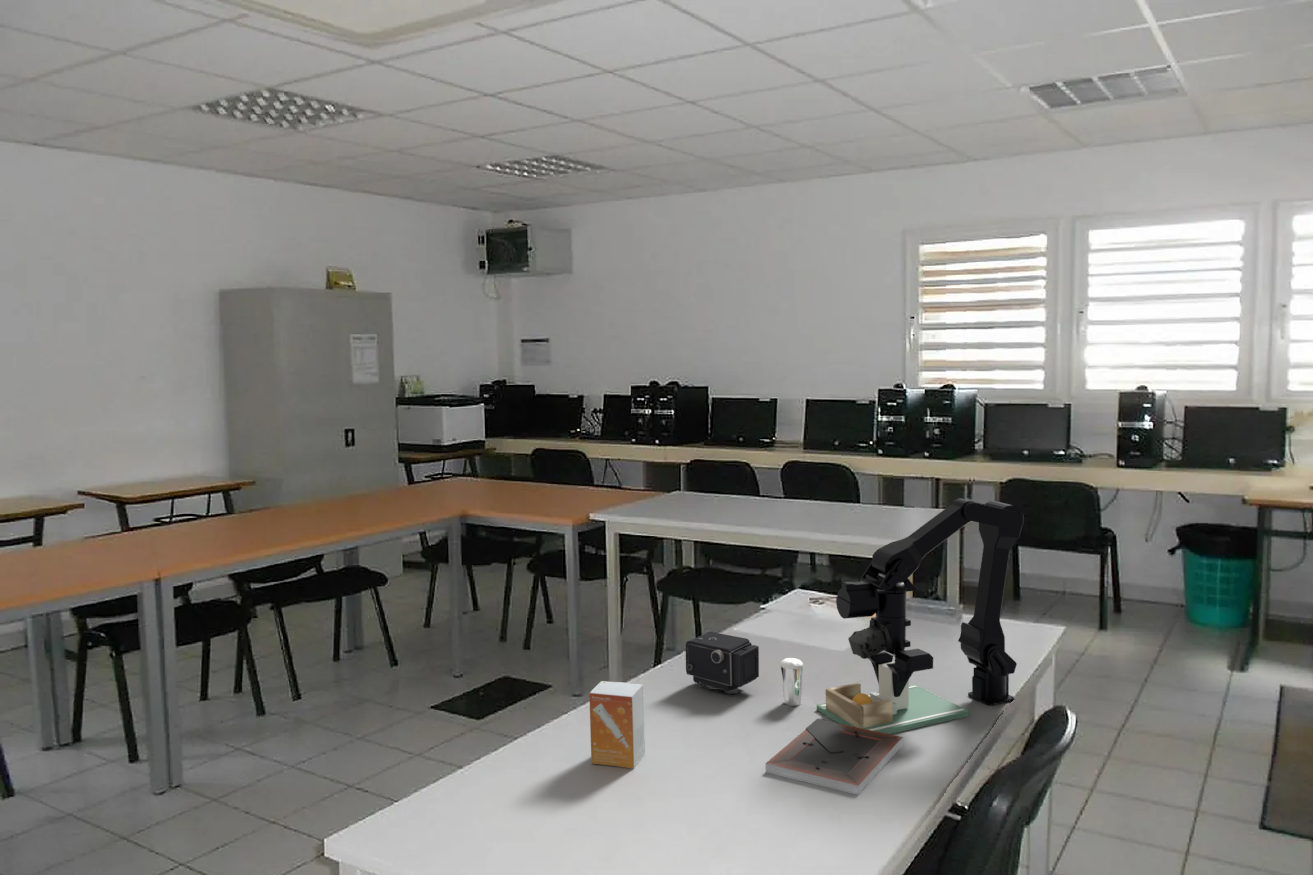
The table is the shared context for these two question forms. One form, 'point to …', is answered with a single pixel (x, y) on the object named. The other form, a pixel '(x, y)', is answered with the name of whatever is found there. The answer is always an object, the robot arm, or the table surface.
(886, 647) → the robot arm
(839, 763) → the book
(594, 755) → the small box
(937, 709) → the board
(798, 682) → the milkshake
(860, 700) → the ball
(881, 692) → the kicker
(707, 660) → the camera
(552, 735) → the table surface
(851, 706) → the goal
